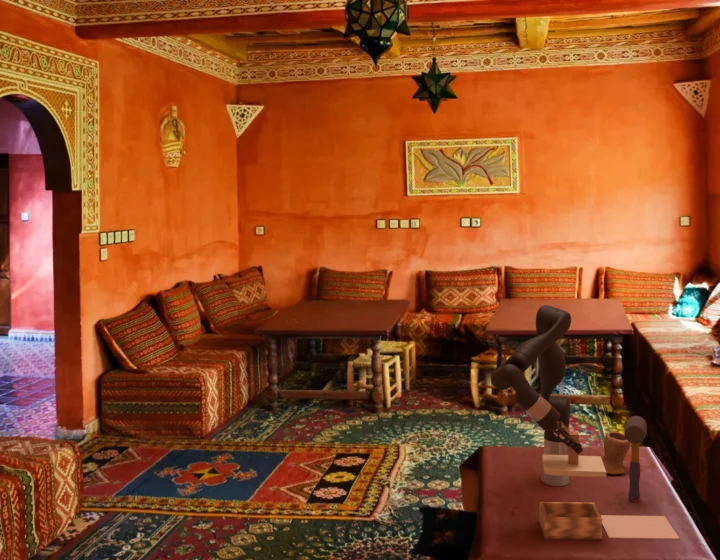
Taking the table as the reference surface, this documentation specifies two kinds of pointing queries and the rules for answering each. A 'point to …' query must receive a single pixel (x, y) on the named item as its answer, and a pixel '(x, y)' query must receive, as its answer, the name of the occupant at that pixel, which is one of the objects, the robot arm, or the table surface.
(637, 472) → the rubber mallet
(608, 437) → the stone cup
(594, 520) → the wooden box
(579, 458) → the lid
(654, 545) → the table surface
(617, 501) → the table surface
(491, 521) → the table surface
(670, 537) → the mat
